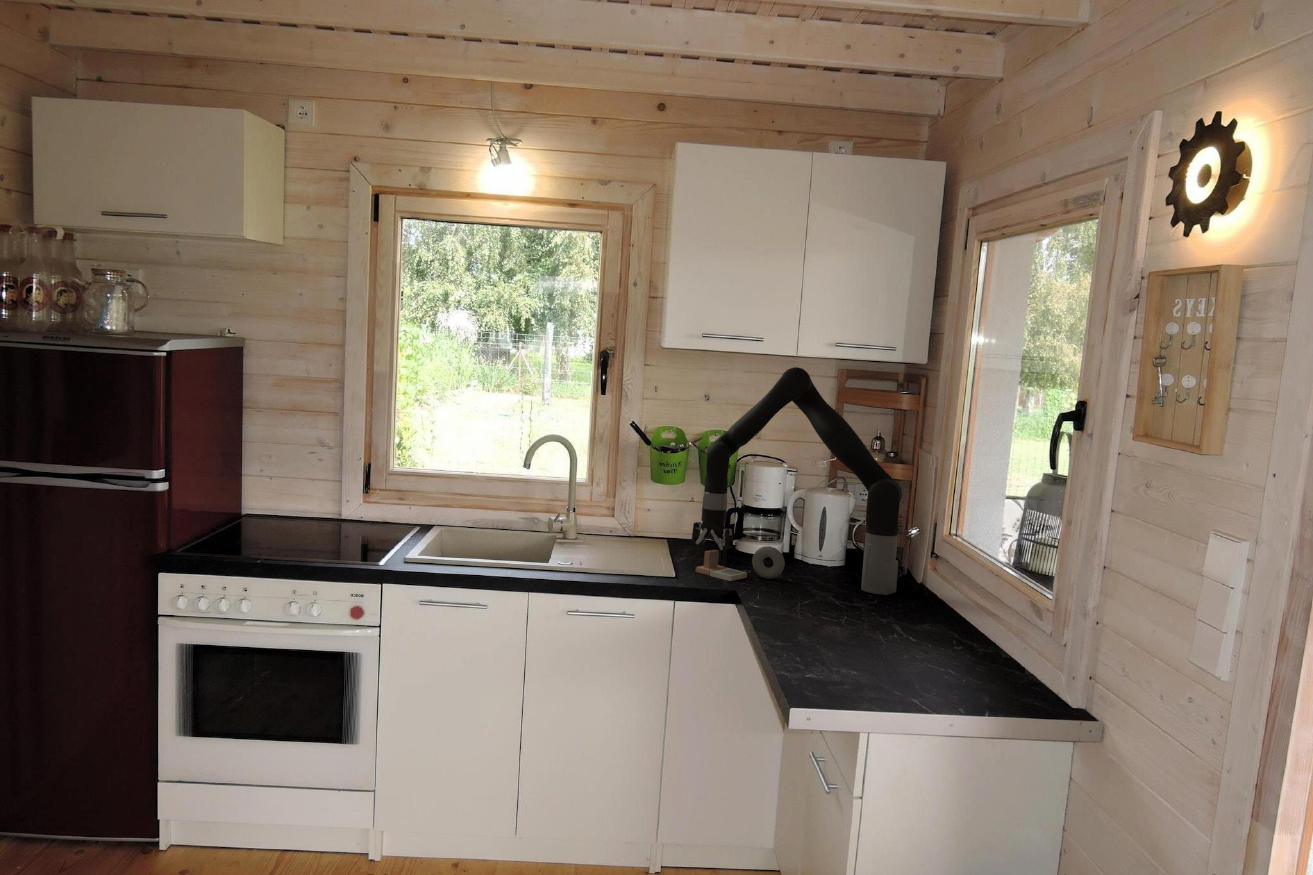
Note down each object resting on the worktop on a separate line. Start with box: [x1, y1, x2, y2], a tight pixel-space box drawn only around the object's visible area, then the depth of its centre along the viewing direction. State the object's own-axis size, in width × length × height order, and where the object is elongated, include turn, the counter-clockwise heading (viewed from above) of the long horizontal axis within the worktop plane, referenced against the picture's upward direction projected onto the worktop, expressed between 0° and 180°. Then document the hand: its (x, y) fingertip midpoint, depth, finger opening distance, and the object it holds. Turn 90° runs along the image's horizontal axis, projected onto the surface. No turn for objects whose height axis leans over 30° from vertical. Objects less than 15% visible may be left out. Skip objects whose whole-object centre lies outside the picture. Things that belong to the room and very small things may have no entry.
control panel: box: [709, 567, 748, 582], centre depth 280 cm, size 8×8×2 cm
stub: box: [695, 549, 726, 576], centre depth 285 cm, size 5×8×6 cm, turn 138°
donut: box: [751, 545, 786, 580], centre depth 280 cm, size 10×4×10 cm, turn 67°
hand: (710, 558), depth 285 cm, fingers open, 8 cm apart
